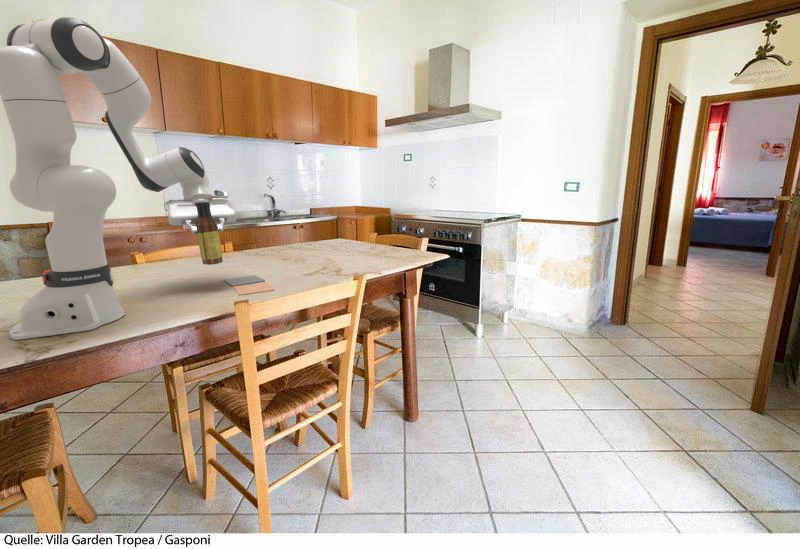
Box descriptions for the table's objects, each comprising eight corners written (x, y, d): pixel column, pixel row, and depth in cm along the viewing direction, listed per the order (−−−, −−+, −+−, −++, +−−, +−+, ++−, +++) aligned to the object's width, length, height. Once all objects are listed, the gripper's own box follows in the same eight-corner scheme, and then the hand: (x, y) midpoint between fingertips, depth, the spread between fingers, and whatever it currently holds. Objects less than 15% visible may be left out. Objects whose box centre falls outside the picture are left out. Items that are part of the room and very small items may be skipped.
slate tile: (233, 288, 132) (232, 285, 132) (224, 282, 140) (223, 279, 140) (265, 283, 139) (265, 280, 139) (254, 277, 147) (254, 274, 147)
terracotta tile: (239, 297, 122) (238, 294, 122) (234, 289, 131) (233, 286, 131) (275, 292, 127) (274, 289, 127) (267, 284, 136) (267, 281, 136)
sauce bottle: (226, 261, 130) (219, 200, 125) (216, 265, 124) (208, 202, 119) (208, 261, 130) (200, 201, 126) (197, 265, 124) (187, 202, 120)
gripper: (162, 193, 122) (170, 227, 116) (232, 192, 133) (241, 223, 127) (163, 207, 126) (170, 240, 121) (230, 204, 137) (240, 235, 132)
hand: (207, 231), depth 124 cm, fingers closed on sauce bottle, 6 cm apart
